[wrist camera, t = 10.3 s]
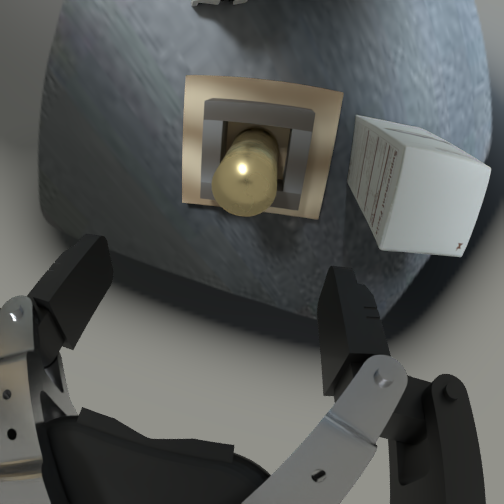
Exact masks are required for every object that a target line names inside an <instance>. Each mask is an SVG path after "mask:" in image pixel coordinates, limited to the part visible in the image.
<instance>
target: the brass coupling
mask: <svg viewBox="0 0 504 504" xmlns="http://www.w3.org/2000/svg"><path fill="white" fill-rule="evenodd" d="M278 154H279V146H278V141H277V139H276V137H275V135H274V134H273V133H272V132H271V131H270V130H268V129H266V128H264V127H261V126H250V127H247V128H245V129H243V130H241V131H240V132H239V133H238V134H237V136H236V137H235V139H234V140H233V142H232V145H231V147H230V149H229V150H228V152H227V153H226V155H225V157H224V158H223V160H222V161H221V163H220V165H219V166H218V168H217V170H216V171H215V173H214V175H213V178H212V192H213V196H214V198H215V200H216V201H217V203H218V204H219V205H220V206H221V207H222V208H223V209H224V210H226V211H227V212H229V213H231V214H233V215H237V216H243V217H249V216H254V215H258V214H260V213H262V212H264V211H265V210H266V209H268V208H269V207H270V205H271V204H272V203H273V201H274V199H275V196H276V193H277V159H278Z"/></svg>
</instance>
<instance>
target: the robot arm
mask: <svg viewBox="0 0 504 504" xmlns="http://www.w3.org/2000/svg"><path fill="white" fill-rule="evenodd" d="M112 280H113V267H112V262H111V258H110V253H109V248H108V243H107V240H106V238H105V237H104V236H99V235H91V234H85V235H84V236H83V237H82V238H81V239H80V240H79V241H78V243H77V244H76V245H75V246H72V247H71V248H69V249H68V250H66V251H65V252H63V253H62V254H61V255H60V256H59V258H58V259H57V260H56V261H55V263H53V264H52V266H51V267H50V268H49V271H47V272H46V273H45V274H44V275H43V277H42V278H41V279H40V281H38V283H37V284H36V285H35V287H34V288H33V289H32V290H31V292H30V293H29V294H28V295H27V296H16V297H13V298H11V299H10V300H9V301H7V302H6V303H5V304H4V305H3V306H2V308H0V504H340V503H341V501H342V500H343V499H344V497H345V496H346V495H347V494H348V492H349V491H350V489H351V488H352V487H353V485H354V484H355V483H356V481H357V480H358V478H359V477H360V476H361V474H362V473H363V471H364V470H365V468H366V467H367V465H368V464H369V462H370V461H371V459H372V458H373V456H374V454H375V452H376V449H377V445H376V441H377V439H378V438H379V437H382V438H386V439H388V444H389V461H390V462H389V463H390V504H486V501H485V487H484V477H483V469H482V461H481V455H480V449H479V443H478V437H477V432H476V427H475V422H474V418H473V414H472V409H471V405H470V401H469V398H468V394H467V390H466V388H465V386H464V384H463V383H462V382H461V381H460V380H459V379H458V378H457V377H455V376H453V375H450V374H442V375H439V376H438V377H437V378H436V379H435V380H434V381H433V382H432V383H431V382H427V381H424V380H420V379H417V378H413V377H411V376H408V375H407V373H406V371H405V369H404V367H403V366H402V365H401V364H400V363H399V362H398V361H397V360H396V359H394V358H392V357H391V355H390V352H389V348H388V344H387V340H386V337H385V333H384V330H383V326H382V322H381V320H380V316H379V312H378V310H377V306H376V302H375V299H374V296H373V295H372V293H371V292H370V291H369V290H368V288H367V287H366V286H365V285H362V284H357V281H356V277H355V274H354V271H353V269H352V268H344V267H336V266H331V267H330V268H329V270H328V273H327V276H326V280H325V283H324V286H323V289H322V292H321V295H320V298H319V302H318V308H317V319H318V329H319V340H320V352H321V364H322V379H323V394H324V396H334V399H335V404H334V406H333V407H332V408H331V409H330V411H329V412H328V413H327V414H326V415H325V416H324V418H323V419H322V420H321V421H320V422H319V424H318V425H317V426H316V427H315V429H314V430H313V431H312V432H311V433H310V434H309V436H308V437H307V438H306V439H305V440H304V441H303V443H301V445H300V446H299V447H298V448H297V449H296V450H295V451H294V452H293V453H292V454H291V456H290V457H289V458H288V459H287V460H286V461H285V462H284V463H283V464H282V465H281V466H280V467H279V468H278V469H277V470H276V471H275V472H274V473H273V474H272V475H270V474H269V473H268V472H267V471H266V470H265V469H263V468H262V467H261V466H260V465H258V464H256V463H255V462H253V461H252V460H250V459H247V458H245V457H243V456H241V455H238V454H236V453H233V452H234V445H229V444H222V443H215V442H209V441H203V440H198V439H150V438H147V437H145V436H143V435H141V434H139V433H138V432H136V431H134V430H133V429H131V428H129V427H128V426H126V425H124V424H123V423H121V422H119V421H118V420H116V419H114V418H111V417H108V416H105V415H102V414H99V413H96V412H94V411H91V410H89V409H86V408H83V407H82V410H81V412H80V414H79V415H78V414H77V412H76V410H75V408H74V406H73V405H72V402H71V400H70V397H69V393H68V388H67V384H66V379H65V374H64V369H63V363H62V357H61V354H60V352H59V350H60V349H61V347H62V346H63V347H66V348H69V349H72V350H73V349H74V347H75V346H76V343H77V342H78V340H79V338H80V337H81V335H82V333H83V331H84V329H85V327H86V326H87V324H88V322H89V321H90V319H91V317H92V315H93V314H94V312H95V310H96V309H97V307H98V305H99V303H100V302H101V300H102V299H103V297H104V295H105V294H106V292H107V290H108V289H109V287H110V286H111V283H112Z"/></svg>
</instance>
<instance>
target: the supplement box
mask: <svg viewBox="0 0 504 504" xmlns="http://www.w3.org/2000/svg"><path fill="white" fill-rule="evenodd" d="M490 173H491V168H490V167H489V166H487V165H485V164H484V163H482V162H481V161H479V160H477V159H476V158H474V157H473V156H471V155H469V154H468V153H466V152H464V151H463V150H461V149H459V148H457V147H456V146H454V145H452V144H451V143H449V142H447V141H445V140H443V139H441V138H440V137H438V136H436V135H434V134H432V133H430V132H428V131H426V130H424V129H422V128H420V127H414V126H409V125H403V124H399V123H394V122H390V121H385V120H380V119H374V118H370V117H365V116H360V115H356V117H355V127H354V135H353V144H352V151H351V158H350V165H349V172H348V178H347V183H348V185H349V187H350V189H351V191H352V193H353V195H354V197H355V199H356V201H357V203H358V205H359V207H360V208H361V210H362V212H363V214H364V216H365V218H366V220H367V222H368V225H369V227H370V229H371V231H372V233H373V235H374V237H375V240H376V242H377V245H378V247H379V249H380V250H384V251H399V252H410V253H422V254H434V255H447V256H457V257H461V256H462V255H463V252H464V250H465V248H466V246H467V244H468V241H469V239H470V236H471V233H472V231H473V228H474V225H475V223H476V219H477V217H478V213H479V211H480V208H481V205H482V202H483V198H484V195H485V192H486V189H487V185H488V182H489V178H490Z"/></svg>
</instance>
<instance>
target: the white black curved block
mask: <svg viewBox="0 0 504 504" xmlns="http://www.w3.org/2000/svg"><path fill="white" fill-rule="evenodd" d="M220 1H224V0H191V4H192V6H197V5H198V3H207V4H216V5H218V4H219V2H220ZM229 1H233V5H234V4H241V3H245V2H247V0H229Z"/></svg>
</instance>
